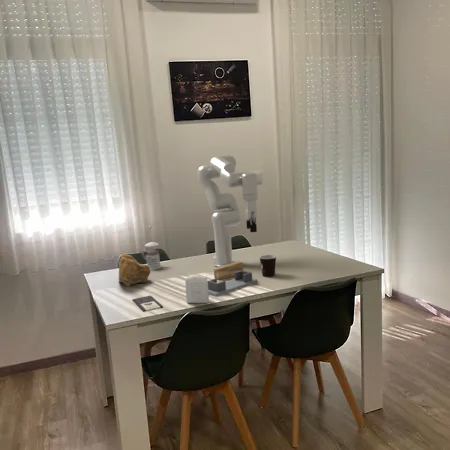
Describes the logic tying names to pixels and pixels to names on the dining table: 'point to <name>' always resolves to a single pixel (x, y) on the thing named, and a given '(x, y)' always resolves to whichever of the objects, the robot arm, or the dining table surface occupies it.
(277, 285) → the dining table surface
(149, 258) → the french press
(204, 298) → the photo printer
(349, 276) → the dining table surface
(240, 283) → the endcap board
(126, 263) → the rough brown rock
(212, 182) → the robot arm
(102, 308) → the dining table surface
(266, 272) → the coffee mug
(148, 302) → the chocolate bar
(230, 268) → the slat
